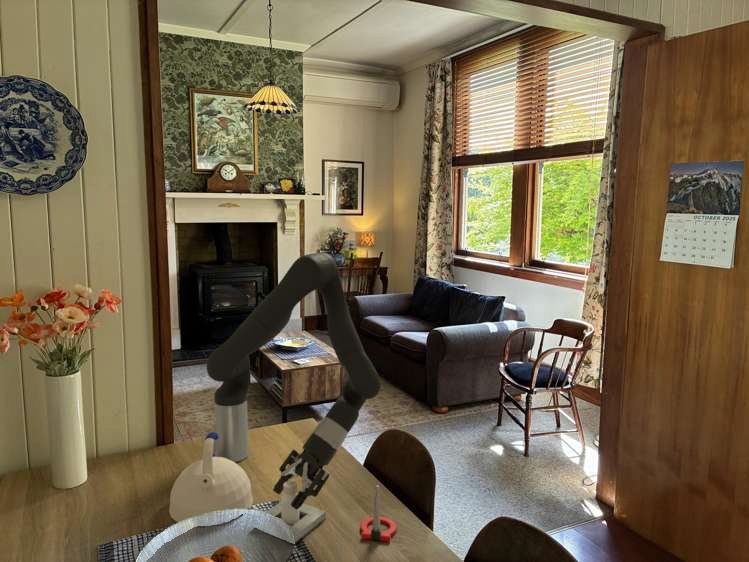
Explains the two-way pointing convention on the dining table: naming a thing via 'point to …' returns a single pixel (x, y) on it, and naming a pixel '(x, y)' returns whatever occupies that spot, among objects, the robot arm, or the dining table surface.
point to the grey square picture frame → (302, 519)
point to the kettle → (209, 485)
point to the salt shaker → (289, 503)
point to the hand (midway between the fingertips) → (284, 499)
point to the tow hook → (377, 524)
